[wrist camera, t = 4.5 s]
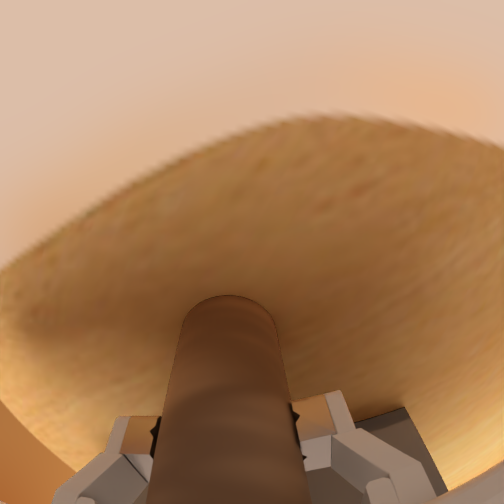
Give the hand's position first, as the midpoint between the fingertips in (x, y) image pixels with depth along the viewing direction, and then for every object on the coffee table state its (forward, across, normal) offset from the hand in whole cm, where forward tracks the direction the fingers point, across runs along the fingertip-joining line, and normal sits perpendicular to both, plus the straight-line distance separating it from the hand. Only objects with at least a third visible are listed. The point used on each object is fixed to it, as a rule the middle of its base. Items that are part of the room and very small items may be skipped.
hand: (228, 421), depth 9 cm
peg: (+5, 0, 0) cm, 5 cm away
